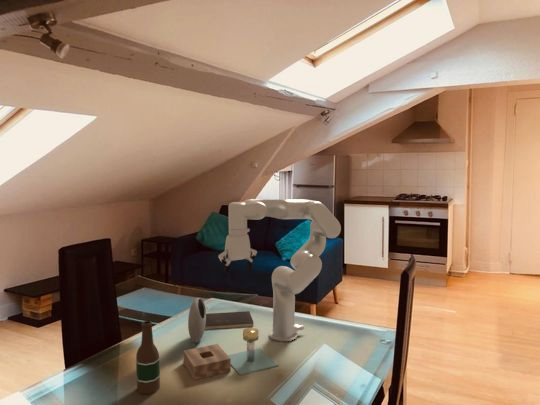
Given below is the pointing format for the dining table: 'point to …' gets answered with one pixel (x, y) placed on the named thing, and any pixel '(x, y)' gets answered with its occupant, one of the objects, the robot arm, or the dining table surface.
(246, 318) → the hardcover book
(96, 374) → the dining table surface
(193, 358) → the block
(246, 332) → the pin
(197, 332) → the planter
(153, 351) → the beer bottle
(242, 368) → the mat
